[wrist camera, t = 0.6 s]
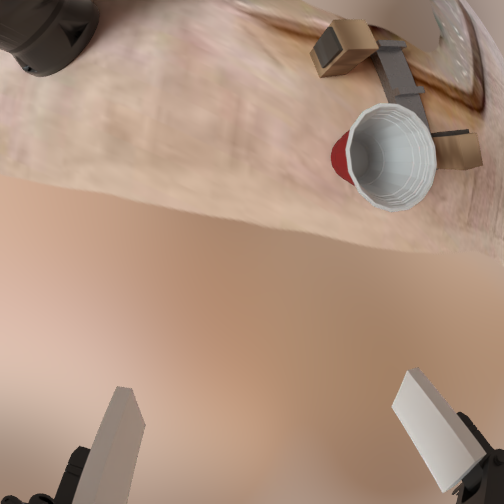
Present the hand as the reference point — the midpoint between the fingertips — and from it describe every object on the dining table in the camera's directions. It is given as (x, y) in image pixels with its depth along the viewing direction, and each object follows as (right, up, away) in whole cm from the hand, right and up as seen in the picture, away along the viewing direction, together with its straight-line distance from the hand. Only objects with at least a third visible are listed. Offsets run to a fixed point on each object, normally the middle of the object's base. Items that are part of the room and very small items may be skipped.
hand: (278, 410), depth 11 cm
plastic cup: (+12, +19, +23) cm, 32 cm away
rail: (+21, +28, +21) cm, 41 cm away
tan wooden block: (+9, +33, +19) cm, 39 cm away
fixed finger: (+23, +22, +21) cm, 38 cm away
